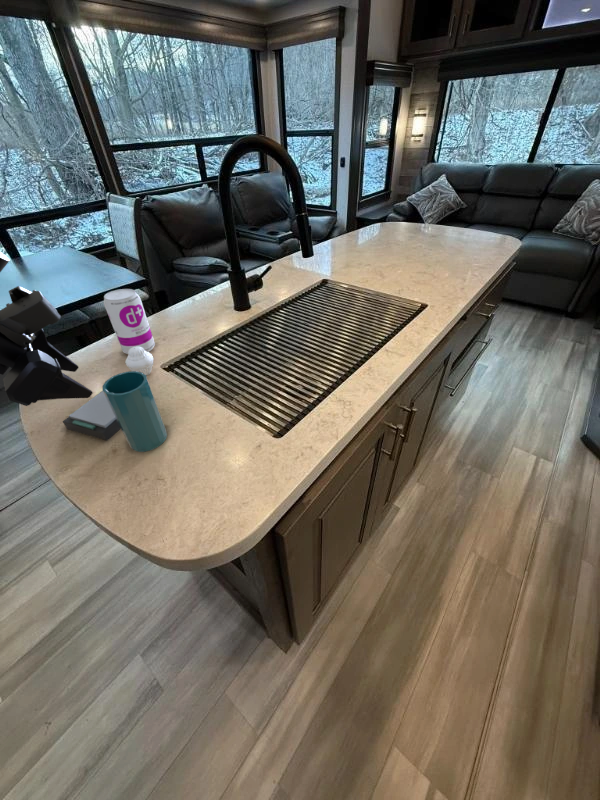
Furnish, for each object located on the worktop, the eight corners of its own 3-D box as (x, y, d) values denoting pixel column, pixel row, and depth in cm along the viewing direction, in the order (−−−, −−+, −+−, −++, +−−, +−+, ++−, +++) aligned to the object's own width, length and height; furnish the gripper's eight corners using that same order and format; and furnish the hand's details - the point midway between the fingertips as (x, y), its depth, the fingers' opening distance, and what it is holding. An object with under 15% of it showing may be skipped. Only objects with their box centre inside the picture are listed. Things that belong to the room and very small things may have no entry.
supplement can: (160, 349, 89) (143, 294, 79) (130, 360, 84) (108, 303, 75) (148, 338, 93) (130, 285, 84) (118, 349, 89) (96, 294, 80)
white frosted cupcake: (143, 382, 77) (134, 356, 72) (124, 376, 79) (114, 350, 74) (163, 369, 81) (154, 343, 76) (144, 363, 83) (135, 338, 79)
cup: (151, 455, 59) (126, 398, 51) (121, 446, 61) (92, 390, 53) (174, 430, 64) (155, 375, 56) (146, 423, 66) (123, 368, 57)
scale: (107, 440, 62) (101, 430, 60) (67, 429, 65) (60, 419, 63) (149, 402, 71) (146, 392, 69) (112, 393, 73) (108, 384, 72)
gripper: (6, 295, 35) (134, 365, 47) (-7, 257, 46) (99, 322, 58) (-62, 378, 34) (85, 427, 47) (-58, 319, 46) (59, 371, 58)
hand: (83, 381), depth 53 cm, fingers open, 9 cm apart
